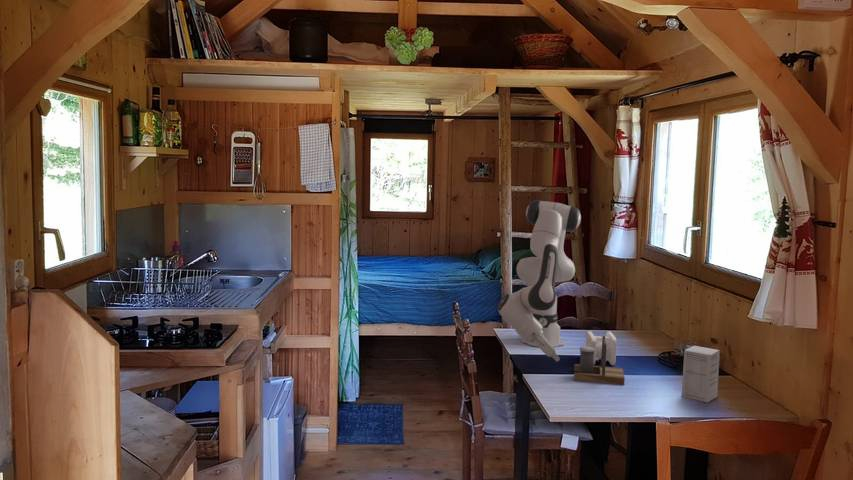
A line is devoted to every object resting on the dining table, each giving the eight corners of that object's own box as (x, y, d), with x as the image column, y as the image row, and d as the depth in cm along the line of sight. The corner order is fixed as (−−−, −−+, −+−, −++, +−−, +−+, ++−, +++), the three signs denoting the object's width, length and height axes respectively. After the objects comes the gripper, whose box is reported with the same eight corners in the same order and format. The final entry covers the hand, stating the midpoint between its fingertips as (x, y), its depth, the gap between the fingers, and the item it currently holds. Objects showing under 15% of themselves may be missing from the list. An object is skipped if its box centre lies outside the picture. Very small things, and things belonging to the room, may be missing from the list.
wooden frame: (574, 370, 269) (575, 333, 267) (621, 374, 265) (624, 337, 263) (574, 380, 256) (575, 342, 254) (624, 384, 252) (626, 346, 251)
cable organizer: (616, 368, 273) (617, 339, 272) (589, 366, 274) (590, 338, 273) (608, 357, 288) (610, 330, 287) (583, 356, 289) (584, 329, 288)
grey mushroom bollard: (578, 373, 265) (579, 346, 264) (593, 374, 264) (595, 347, 263) (578, 377, 260) (579, 350, 259) (594, 378, 258) (595, 351, 257)
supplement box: (717, 396, 241) (721, 350, 240) (708, 403, 235) (711, 355, 233) (690, 390, 248) (693, 344, 246) (680, 396, 241) (683, 349, 239)
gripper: (542, 331, 249) (568, 358, 250) (532, 318, 269) (555, 343, 270) (529, 343, 249) (555, 370, 250) (520, 329, 269) (544, 354, 271)
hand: (555, 356), depth 260 cm, fingers open, 8 cm apart
